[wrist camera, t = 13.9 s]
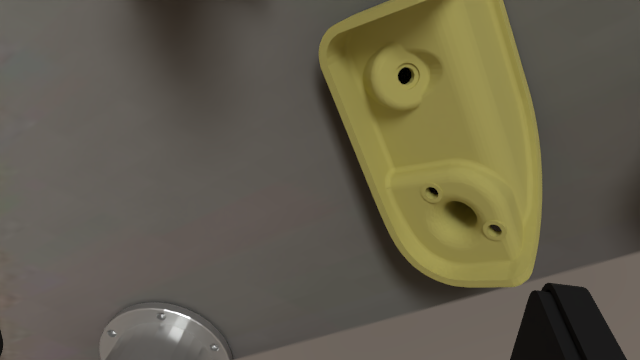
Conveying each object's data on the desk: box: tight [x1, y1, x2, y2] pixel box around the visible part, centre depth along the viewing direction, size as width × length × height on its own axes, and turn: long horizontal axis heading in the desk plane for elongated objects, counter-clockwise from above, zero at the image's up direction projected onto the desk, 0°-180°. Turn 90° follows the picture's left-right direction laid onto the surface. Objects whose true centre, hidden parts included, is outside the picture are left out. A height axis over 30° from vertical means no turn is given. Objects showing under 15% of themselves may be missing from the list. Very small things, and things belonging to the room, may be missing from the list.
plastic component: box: [319, 0, 542, 287], centre depth 37 cm, size 20×7×10 cm
